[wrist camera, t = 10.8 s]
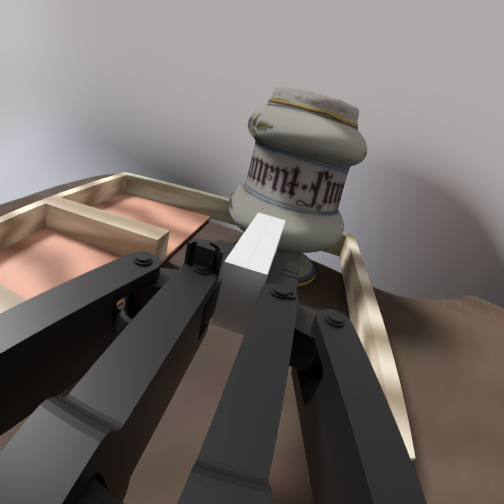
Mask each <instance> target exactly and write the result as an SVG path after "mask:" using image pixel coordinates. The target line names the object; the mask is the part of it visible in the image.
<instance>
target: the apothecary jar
mask: <svg viewBox="0 0 504 504" xmlns="http://www.w3.org/2000/svg"><path fill="white" fill-rule="evenodd" d="M358 116H359V110H358V109H357V108H356V107H354V106H352V105H350V104H348V103H346V102H343V101H341V100H337V99H335V98H332V97H329V96H325V95H321V94H318V93H314V92H309V91H304V90H299V89H293V88H284V87H277V88H275V90H274V92H273V94H272V98H271V99H269V101H268V104H267V105H266V106H263V107H261V108H259V109H257V110H256V111H254V112H253V113H252V114H251V116H250V118H249V120H248V129H249V131H250V133H251V135H252V136H253V137H254V138H255V146H254V151H253V156H252V159H251V164H250V168H249V172H248V176H247V179H246V182H245V184H243V185H241V186H240V187H238V188H237V189H236V190H235V191H234V192H233V193H232V195H231V197H230V200H229V211H230V214H231V216H232V218H233V220H234V222H235V223H236V224H237V226H239V228H240V229H241V230H242V231H244V232H245V231H246V229H247V228H248V227H249V225H250V224H251V222H252V221H253V219H254V218H255V216H256V215H257V214H258V212H259V213H262V214H266V215H269V216H272V217H276V218H279V219H282V220H285V224H284V227H283V231H282V234H281V237H280V241H279V244H278V248H277V251H276V254H275V256H277V257H281V258H284V259H287V260H291V261H294V262H296V263H297V265H298V267H299V276H298V284H297V286H303V285H306V284H308V283H310V282H312V281H313V280H314V278H315V276H316V269H315V266H314V264H313V263H312V261H311V260H310V259H309V258H308V257H307V256H306V255H304V254H303V253H309V252H317V251H322V250H325V249H327V248H330V247H331V246H333V245H335V244H336V243H337V242H338V241H339V240H340V238H341V237H342V234H343V231H344V223H343V219H342V217H341V214H340V212H339V211H338V207H339V203H340V200H341V195H342V191H343V188H344V184H345V181H346V177H347V174H348V171H349V169H350V167H351V166H353V165H356V164H359V163H360V162H362V161H363V160H364V158H365V157H366V154H367V145H366V142H365V140H364V138H363V136H362V135H361V134H360V132H359V131H358V123H357V120H358ZM238 241H239V240H238ZM238 241H236V242H234V243H233V244H235V245H236V244H237V242H238Z"/></svg>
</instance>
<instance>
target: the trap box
mask: <svg viewBox="0 0 504 504" xmlns="http://www.w3.org/2000/svg"><path fill="white" fill-rule="evenodd" d="M229 200H230V199H229V198H226V197H222V196H218V195H215V194H210V193H207V192H203V191H199V190H196V189H191V188H188V187H184V186H180V185H176V184H172V183H168V182H164V181H160V180H156V179H152V178H148V177H143V176H139V175H135V174H131V173H126V172H124V173H120V174H117V175H113V176H110V177H107V178H104V179H100V180H97V181H94V182H91V183H88V184H85V185H82V186H79V187H76V188H73V189H70V190H67V191H65V192H62V193H59V194H56V195H54V196H51V197H48V198H46V199H43V200H40V201H38V202H35V203H33V204H30V205H28V206H25V207H23V208H20V209H18V210H15V211H13V212H11V213H8V214H6V215H4V216H1V217H0V313H2V312H4V311H6V310H8V309H10V308H12V307H14V306H16V305H18V304H20V303H22V302H24V301H26V300H28V299H30V298H33V297H35V296H37V295H39V294H41V293H43V292H45V291H47V290H49V289H51V288H54V287H56V286H58V285H60V284H62V283H64V282H67V281H69V280H71V279H73V278H75V277H77V276H80V275H82V274H84V273H86V272H89V271H91V270H93V269H95V268H98V267H100V266H102V265H104V264H107V263H109V262H111V261H113V260H116V259H118V258H120V257H123V256H125V255H127V254H130V253H133V252H141V251H144V252H149V253H151V254H154V255H156V256H157V257H158V258H159V259H160V261H161V264H162V263H163V262H164V261H165V260H166V259H167V258H168V257H169V256H170V255H171V254H172V253H173V252H174V251H176V250H177V249H178V248H179V247H180V246H181V245H182V244H183V243H184V242H185V241H186V240H187V239H188V238H190V237H191V236H192V235H193V234H194V233H195V232H196V231H197V230H198V229H199V228H200V227H202V226H203V225H204V224H205V223H206V222H207V221H208V220H209V219H210V218H212V219H216V220H220V221H223V222H227V223H230V224H233V225H237V224H236V223H235V222H234V220H233V218H232V216H231V214H230V211H229ZM322 251H324V252H328V253H331V254H334V255H337V256H339V258H340V264H341V269H342V274H343V280H344V285H345V291H346V297H347V303H348V309H349V315H350V321H351V322H352V324H353V326H354V328H355V330H356V332H357V334H358V336H359V338H360V341H361V343H362V345H363V347H364V349H365V351H366V354H367V356H368V358H369V360H370V362H371V365H372V367H373V369H374V371H375V374H376V376H377V378H378V380H379V383H380V385H381V387H382V390H383V392H384V394H385V397H386V399H387V401H388V404H389V406H390V408H391V411H392V413H393V416H394V418H395V421H396V423H397V425H398V428H399V430H400V433H401V435H402V438H403V441H404V443H405V446H406V448H407V451H408V453H409V456H410V459H411V461H413V460H414V459H415V453H414V448H413V442H412V437H411V431H410V426H409V421H408V416H407V412H406V407H405V402H404V398H403V394H402V389H401V385H400V381H399V377H398V373H397V369H396V365H395V361H394V358H393V354H392V350H391V347H390V343H389V340H388V336H387V333H386V329H385V326H384V323H383V319H382V316H381V313H380V310H379V306H378V303H377V300H376V297H375V294H374V291H373V288H372V285H371V282H370V279H369V276H368V273H367V270H366V268H365V265H364V262H363V260H362V256H361V254H360V251H359V248H358V246H357V243H356V240H355V238H354V236H353V235H350V234H347V233H344V232H343V234H342V237H341V238H340V240H339V241H338V242H337V243H336V244H335V245H333V246H331V247H330V248H327V249H325V250H322ZM122 302H123V299H122V300H120V301H119V302H118V303H117V307H118V306H119V305H120V304H121V303H122Z"/></svg>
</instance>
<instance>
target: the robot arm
mask: <svg viewBox="0 0 504 504" xmlns="http://www.w3.org/2000/svg"><path fill="white" fill-rule="evenodd" d="M284 224H285V220H282V219H279V218H276V217H272V216H269V215H266V214H262V213H259V212H258V214H257V215H256V216H255V218H254V219H253V221H252V222H251V224H250V225H249V227H248V228H247V229H246V231H245V232H244V234H243V235H242V237H241V238H240V240H239V241H238V242H237V244H236V245H235V244H232V243H228V242H225V241H222V240H219V241H216V242H212V241H208V240H199V239H197V240H191V241H189V242H188V243H187V249H186V255H185V261H184V264H183V265H182V266H181V267H180V268H179V269H178V270H176V269H167V268H160V266H161V261H160V259H159V258H158V257H157V256H156V255H154V254H151V253H149V252H144V251H141V252H133V253H130V254H127V255H125V256H123V257H120V258H118V259H116V260H113V261H111V262H109V263H107V264H104V265H102V266H100V267H98V268H95V269H93V270H91V271H89V272H86V273H84V274H82V275H80V276H77V277H75V278H73V279H71V280H69V281H67V282H64V283H62V284H60V285H58V286H56V287H54V288H51V289H49V290H47V291H45V292H43V293H41V294H39V295H37V296H35V297H33V298H30V299H28V300H26V301H24V302H22V303H20V304H18V305H16V306H14V307H12V308H10V309H8V310H6V311H4V312H2V313H0V435H2V434H3V433H5V432H7V431H8V430H9V429H11V428H12V427H14V426H15V425H16V424H18V423H19V422H21V421H22V420H23V419H25V418H26V417H28V416H29V415H30V414H32V413H33V414H32V415H31V416H30V417H29V418H28V420H27V421H26V422H25V423H24V424H23V426H22V427H21V428H20V429H19V430H18V432H17V433H16V434H15V435H14V437H13V438H12V439H11V440H10V442H9V443H8V444H7V445H6V447H5V448H4V449H3V450H2V452H1V453H0V504H125V503H124V502H123V499H124V497H125V495H126V492H127V489H128V485H129V480H130V477H131V475H132V473H133V471H134V469H135V467H136V465H137V463H138V461H139V459H140V458H141V456H142V454H143V452H144V450H145V448H146V446H147V444H148V442H149V440H150V439H151V437H152V435H153V433H154V431H155V429H156V427H157V425H158V423H159V421H160V420H161V418H162V416H163V414H164V412H165V410H166V408H167V406H168V404H169V403H170V401H171V399H172V397H173V395H174V393H175V391H176V389H177V387H178V386H179V384H180V382H181V380H182V378H183V376H184V374H185V372H186V370H187V369H188V367H189V365H190V363H191V361H192V359H193V357H194V355H195V353H196V352H197V350H198V348H199V346H200V344H201V342H202V340H203V338H204V336H205V335H206V333H207V330H208V325H209V321H210V319H211V317H212V321H211V324H213V325H216V326H219V327H222V328H225V329H228V330H231V331H234V332H237V333H240V334H243V335H244V338H243V340H242V343H241V346H240V349H239V351H238V354H237V357H236V359H235V362H234V365H233V367H232V370H231V373H230V375H229V378H228V381H227V383H226V386H225V389H224V391H223V394H222V397H221V399H220V402H219V404H218V407H217V410H216V412H215V415H214V418H213V420H212V423H211V425H210V428H209V430H208V433H207V436H206V438H205V441H204V443H203V446H202V448H201V451H200V453H199V456H198V458H197V461H196V463H195V464H194V466H193V468H192V470H191V472H190V475H189V477H188V479H187V482H186V484H185V487H184V489H183V492H182V494H181V496H180V499H179V501H178V504H270V501H271V494H272V492H271V486H270V485H269V484H268V479H269V473H270V468H271V463H272V458H273V453H274V448H275V443H276V438H277V433H278V427H279V422H280V416H281V411H282V405H283V399H284V393H285V387H286V381H287V375H288V369H289V366H291V367H292V371H291V374H292V379H293V385H294V390H295V396H296V402H297V407H298V413H299V418H300V424H301V430H302V436H303V441H304V447H305V453H306V459H307V465H308V471H309V477H310V483H311V489H312V495H313V501H314V504H427V503H426V500H425V497H424V495H423V492H422V489H421V486H420V483H419V480H418V478H417V475H416V472H415V469H414V467H413V464H412V461H411V459H410V456H409V453H408V451H407V448H406V446H405V443H404V441H403V438H402V435H401V433H400V430H399V428H398V425H397V423H396V421H395V418H394V416H393V413H392V411H391V408H390V406H389V404H388V401H387V399H386V397H385V394H384V392H383V390H382V387H381V385H380V383H379V380H378V378H377V376H376V374H375V371H374V369H373V367H372V365H371V362H370V360H369V358H368V356H367V354H366V351H365V349H364V347H363V345H362V343H361V341H360V338H359V336H358V334H357V332H356V330H355V328H354V326H353V324H352V322H351V321H350V319H349V318H348V317H347V316H345V315H344V314H343V313H341V312H339V311H337V310H332V309H321V310H319V311H318V312H317V313H316V315H315V314H313V313H311V312H309V311H307V310H305V309H304V308H303V307H301V306H300V304H299V303H298V295H297V294H296V291H297V284H298V276H299V267H298V265H297V263H296V262H294V261H291V260H287V259H284V258H281V257H277V256H275V254H276V251H277V248H278V244H279V241H280V237H281V234H282V231H283V227H284ZM122 299H123V305H121V306H120V307H117V303H118V302H119V301H120V300H122ZM212 315H213V316H212ZM82 377H83V378H82ZM81 378H82V379H81ZM79 379H81V380H80V381H79V382H78V384H77V385H76V386H75V387H74V388H73V390H72V391H71V392H70V393H69V394H68V395H67V396H66V397H65V398H63V399H60V398H56V396H57V395H58V394H60V393H61V392H62V391H64V390H65V389H67V388H68V387H69V386H71V385H72V384H74V383H75V382H76V381H78V380H79Z"/></svg>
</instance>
